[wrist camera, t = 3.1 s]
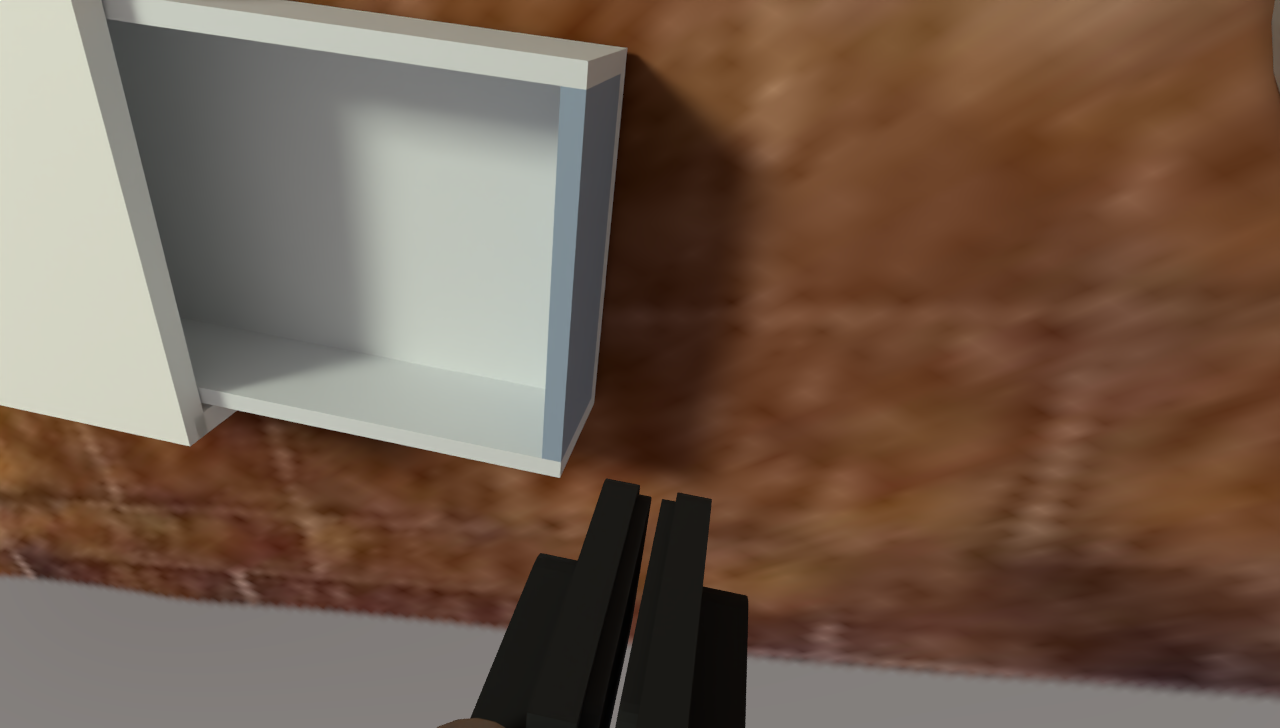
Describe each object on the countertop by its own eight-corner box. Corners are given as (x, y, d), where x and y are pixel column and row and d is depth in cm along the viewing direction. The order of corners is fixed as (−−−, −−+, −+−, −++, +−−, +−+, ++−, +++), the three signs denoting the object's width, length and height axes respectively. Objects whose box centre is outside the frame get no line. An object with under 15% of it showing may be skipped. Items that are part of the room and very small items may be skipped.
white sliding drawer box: (627, 48, 19) (588, 61, 15) (594, 403, 25) (559, 477, 21) (-118, -57, 21) (-314, -68, 17) (11, 288, 27) (-115, 336, 23)
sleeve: (229, -51, 20) (53, -66, 15) (295, 365, 27) (190, 446, 22) (-182, -105, 21) (-461, -135, 16) (-18, 303, 28) (-181, 365, 23)
